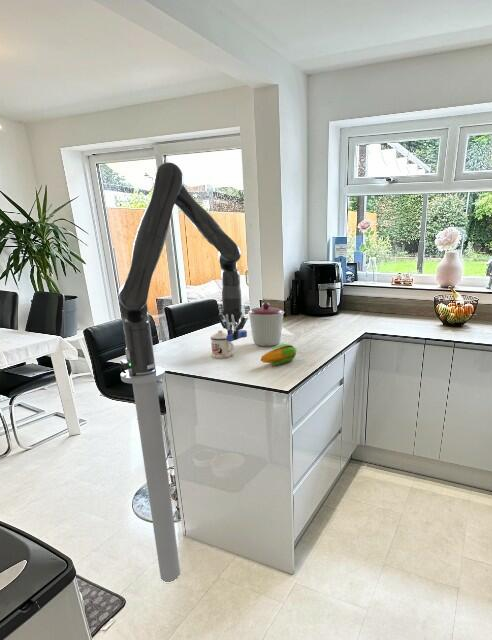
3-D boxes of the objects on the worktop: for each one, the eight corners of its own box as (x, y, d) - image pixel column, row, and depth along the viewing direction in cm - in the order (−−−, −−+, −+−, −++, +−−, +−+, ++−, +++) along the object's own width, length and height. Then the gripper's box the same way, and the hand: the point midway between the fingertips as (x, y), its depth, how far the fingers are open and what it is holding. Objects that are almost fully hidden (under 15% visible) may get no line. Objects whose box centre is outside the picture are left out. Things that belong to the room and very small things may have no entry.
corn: (300, 342, 173) (267, 351, 159) (301, 359, 175) (268, 369, 161) (288, 341, 177) (254, 349, 163) (289, 357, 180) (256, 367, 166)
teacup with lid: (207, 356, 180) (205, 330, 176) (222, 352, 187) (220, 327, 183) (226, 360, 174) (224, 334, 170) (240, 356, 181) (239, 330, 177)
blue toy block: (232, 342, 160) (232, 336, 159) (224, 341, 161) (224, 335, 160) (248, 336, 171) (248, 330, 170) (240, 335, 172) (240, 329, 171)
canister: (270, 350, 191) (269, 306, 184) (241, 345, 199) (239, 303, 192) (291, 343, 205) (291, 301, 198) (263, 338, 214) (262, 299, 207)
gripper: (211, 296, 157) (214, 339, 163) (241, 298, 152) (243, 343, 158) (222, 294, 163) (224, 336, 169) (251, 296, 159) (252, 339, 164)
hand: (233, 339), depth 163 cm, fingers closed on blue toy block, 2 cm apart
